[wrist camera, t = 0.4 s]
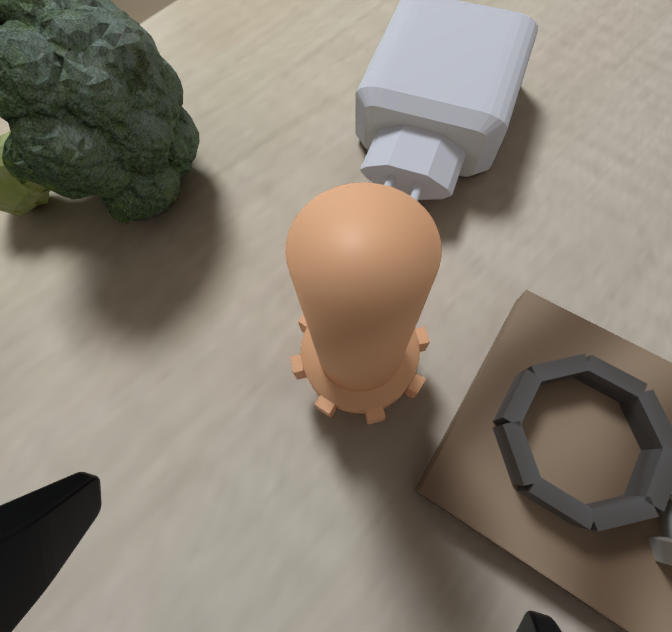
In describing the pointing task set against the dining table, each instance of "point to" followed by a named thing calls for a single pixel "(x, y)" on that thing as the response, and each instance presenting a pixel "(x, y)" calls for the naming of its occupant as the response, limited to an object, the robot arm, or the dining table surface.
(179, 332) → the dining table surface
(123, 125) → the vegetable
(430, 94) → the charger
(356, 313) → the gear spindle
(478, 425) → the gear board
